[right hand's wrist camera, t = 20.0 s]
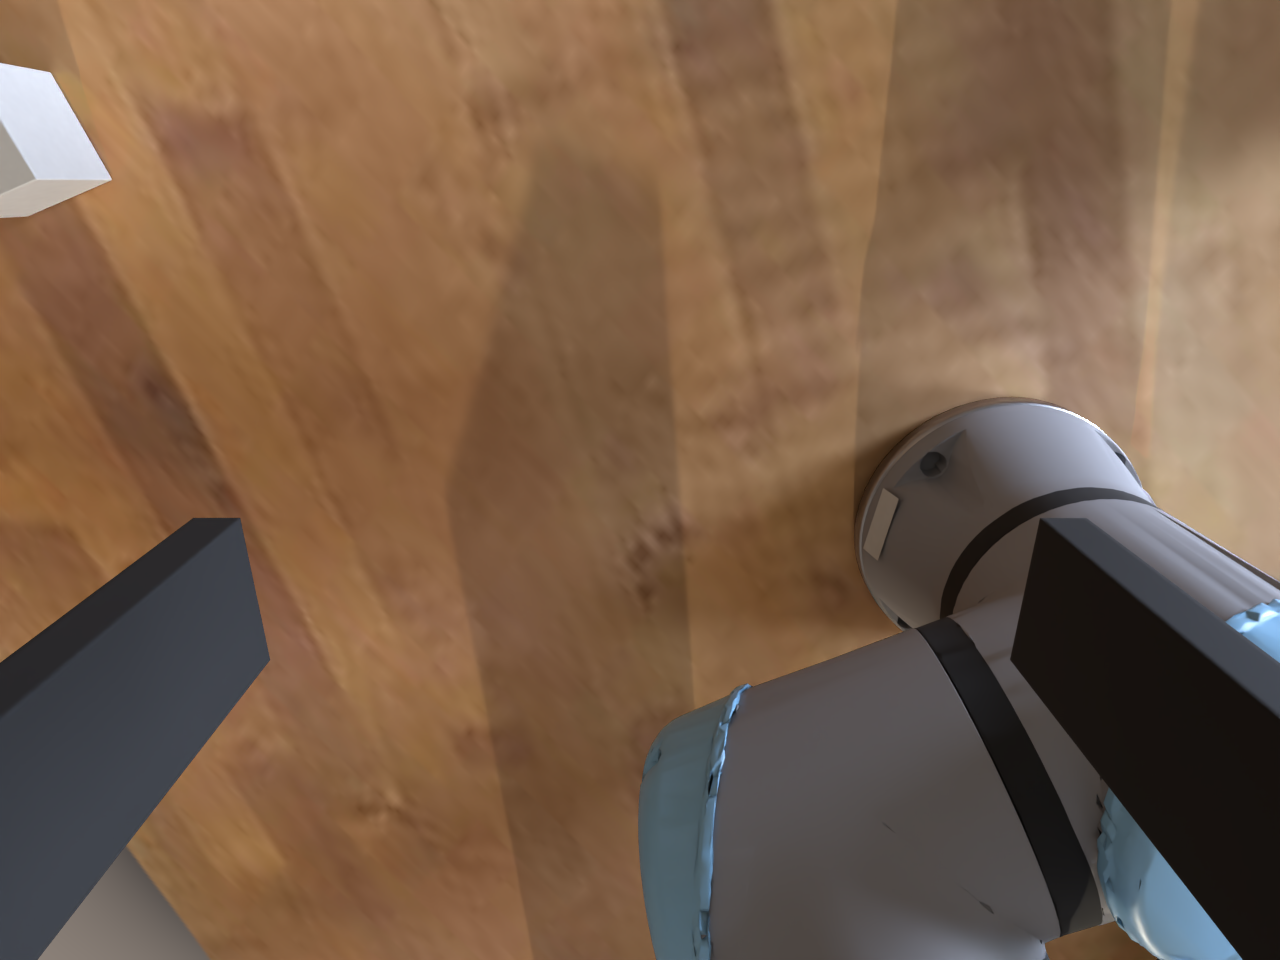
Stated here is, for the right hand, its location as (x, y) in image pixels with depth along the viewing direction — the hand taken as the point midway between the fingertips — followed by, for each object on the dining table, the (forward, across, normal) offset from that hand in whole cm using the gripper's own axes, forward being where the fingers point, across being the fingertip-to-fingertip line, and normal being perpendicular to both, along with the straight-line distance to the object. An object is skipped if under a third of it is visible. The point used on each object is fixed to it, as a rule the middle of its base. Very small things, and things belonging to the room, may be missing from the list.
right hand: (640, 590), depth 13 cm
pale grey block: (+29, +29, -8) cm, 42 cm away
